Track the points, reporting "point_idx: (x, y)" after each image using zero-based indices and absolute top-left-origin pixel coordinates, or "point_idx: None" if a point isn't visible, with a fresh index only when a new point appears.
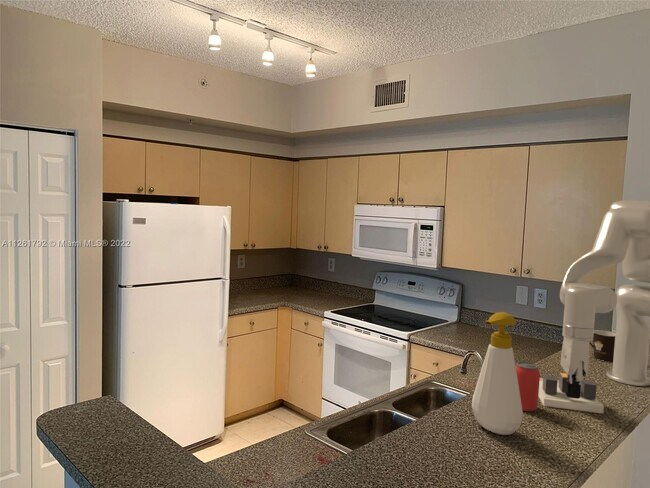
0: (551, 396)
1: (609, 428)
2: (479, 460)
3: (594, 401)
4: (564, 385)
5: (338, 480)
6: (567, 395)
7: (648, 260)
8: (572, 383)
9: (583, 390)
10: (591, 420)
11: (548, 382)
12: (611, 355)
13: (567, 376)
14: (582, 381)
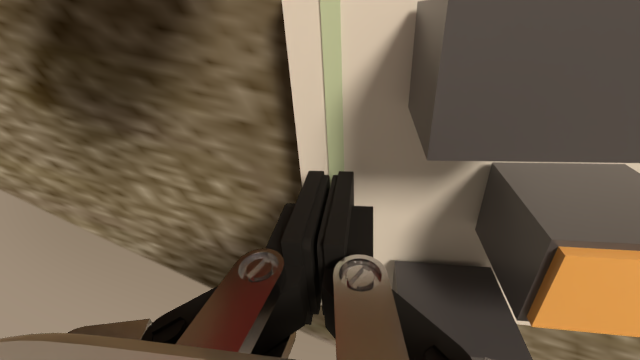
0: (369, 56)
1: (169, 248)
2: None
3: None
4: (508, 208)
5: None
6: (308, 175)
7: None
8: (240, 274)
9: (414, 297)
10: (211, 211)
11: (434, 36)
12: None
13: (368, 297)
14: (473, 354)
